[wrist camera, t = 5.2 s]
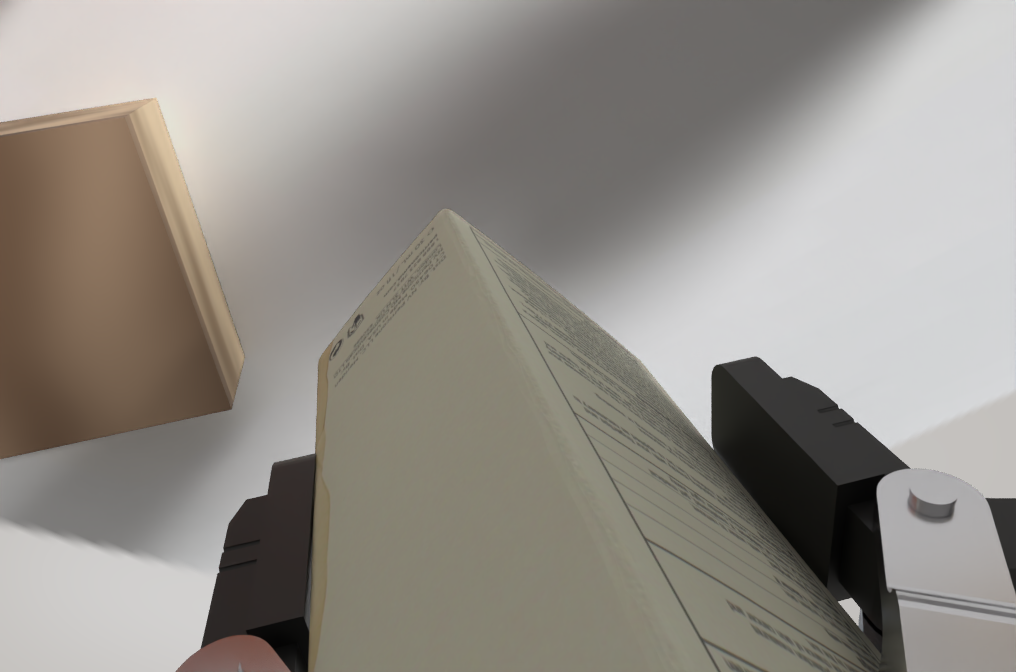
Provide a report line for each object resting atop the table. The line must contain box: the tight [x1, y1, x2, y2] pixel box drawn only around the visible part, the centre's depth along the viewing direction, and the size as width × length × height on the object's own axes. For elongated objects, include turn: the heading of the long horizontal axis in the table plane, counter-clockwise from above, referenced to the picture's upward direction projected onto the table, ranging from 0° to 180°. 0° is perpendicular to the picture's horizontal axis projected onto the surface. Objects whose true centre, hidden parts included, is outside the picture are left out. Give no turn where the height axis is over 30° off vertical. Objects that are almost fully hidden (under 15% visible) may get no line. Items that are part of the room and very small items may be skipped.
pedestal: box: [0, 98, 245, 459], centre depth 24 cm, size 10×10×4 cm
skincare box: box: [308, 209, 881, 672], centre depth 10 cm, size 6×4×12 cm
